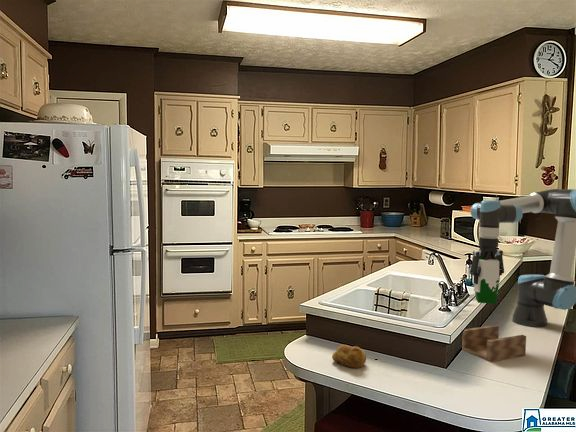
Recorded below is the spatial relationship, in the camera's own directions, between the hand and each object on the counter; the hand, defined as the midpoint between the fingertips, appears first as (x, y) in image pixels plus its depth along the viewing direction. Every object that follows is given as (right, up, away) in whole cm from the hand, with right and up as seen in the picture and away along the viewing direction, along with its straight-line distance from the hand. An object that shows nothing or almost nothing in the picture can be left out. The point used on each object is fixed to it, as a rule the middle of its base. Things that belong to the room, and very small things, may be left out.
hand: (486, 290), depth 208 cm
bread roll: (-60, -24, -24) cm, 69 cm away
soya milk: (0, -5, 0) cm, 5 cm away
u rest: (-2, -23, -10) cm, 25 cm away
